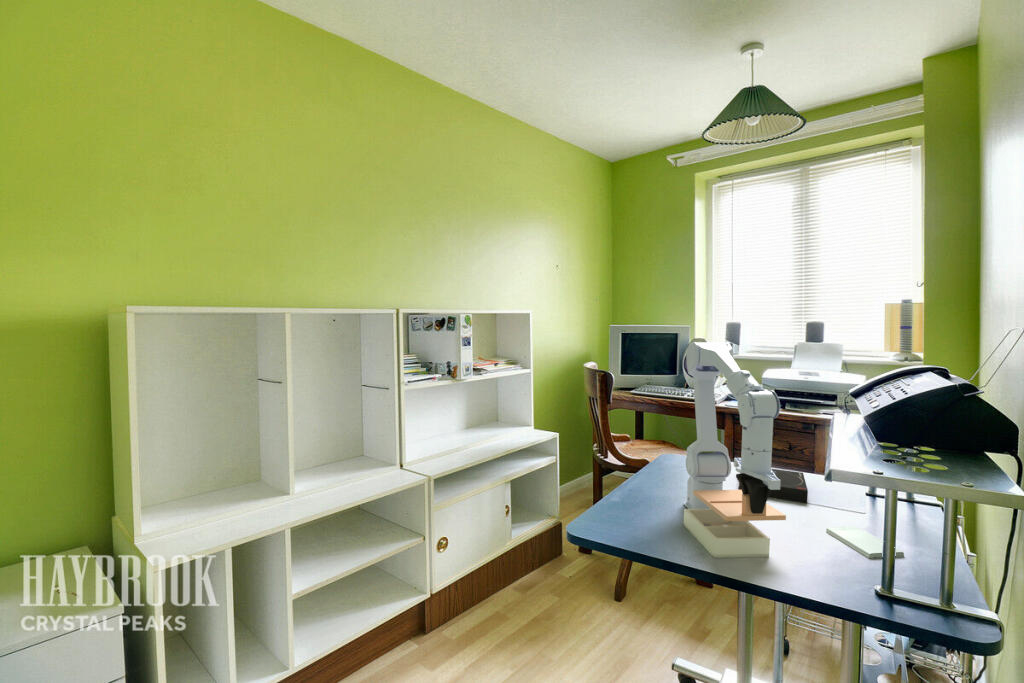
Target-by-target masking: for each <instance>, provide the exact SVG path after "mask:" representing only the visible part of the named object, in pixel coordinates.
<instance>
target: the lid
mask: <svg viewBox="0 0 1024 683" xmlns="http://www.w3.org/2000/svg"><path fill="white" fill-rule="evenodd" d="M693 495H694V496H696V497H697V498H698V499H699V500H701V501H702V502H703V503H704V504H706V505H707V506H708V507H710V508H711V509H712V510H713V511H715V512H716V513H717V514H718V515H720V516H721V517H722V518H723V519H725V520H726V521H749V522H750V521H751V522H752V521H757V522H758V521H761V522H762V521H787V514H784V513H783V512H781V511H779V510H778V509H776V508H775V507H773V506H771V505H770V504H768V503H767V502H766V504H765V507H764V510H763V513H762V514H753V513H752V512H751V508H750V496H749V494H743V493H742V490H738V489H722V490H693Z"/></svg>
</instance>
